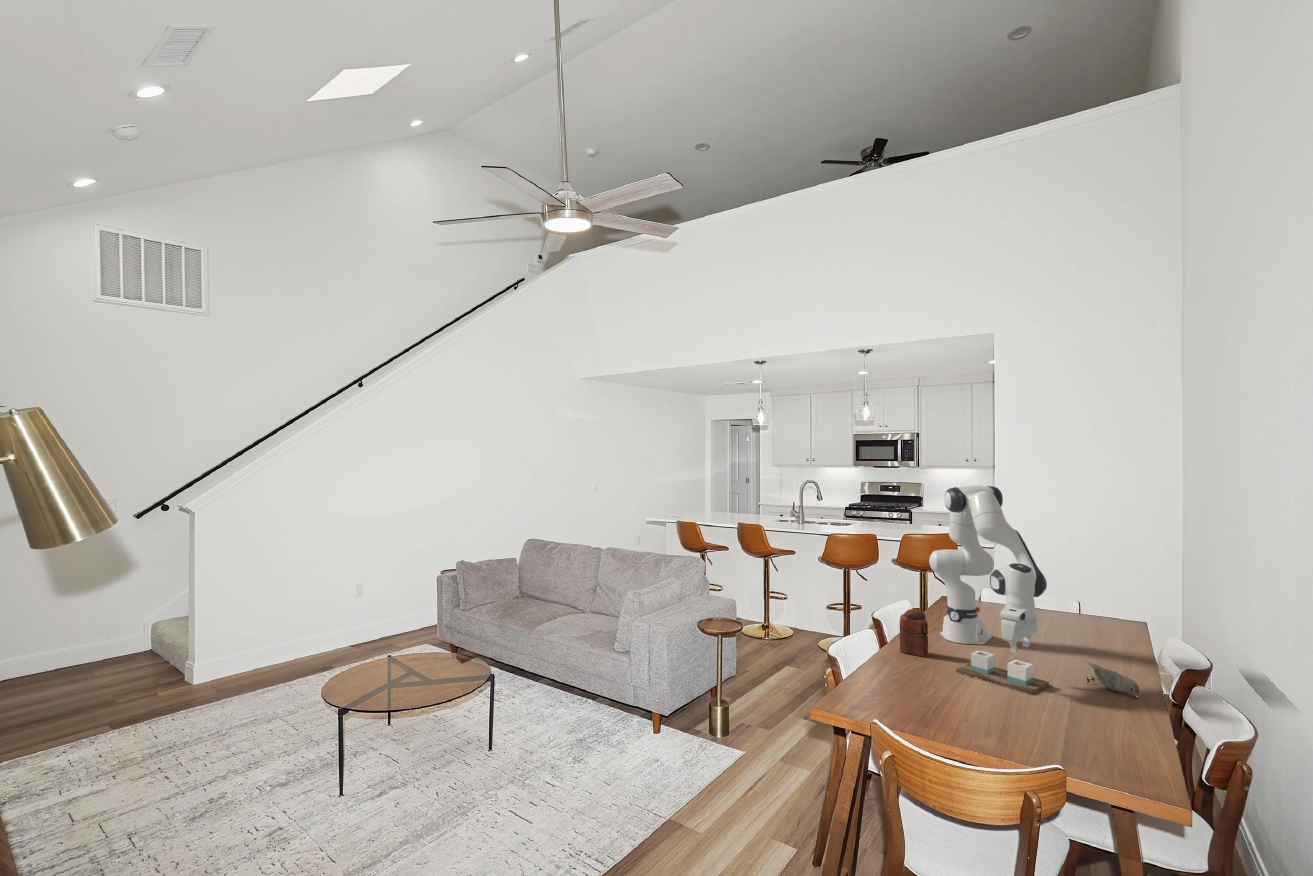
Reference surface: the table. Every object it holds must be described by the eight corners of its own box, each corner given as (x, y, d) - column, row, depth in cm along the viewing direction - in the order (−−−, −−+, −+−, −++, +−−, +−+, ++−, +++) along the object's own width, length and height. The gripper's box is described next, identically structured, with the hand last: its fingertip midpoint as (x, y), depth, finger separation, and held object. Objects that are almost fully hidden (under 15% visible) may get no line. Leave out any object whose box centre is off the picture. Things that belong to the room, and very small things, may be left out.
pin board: (974, 664, 240) (974, 647, 240) (1049, 685, 219) (1048, 666, 219) (956, 672, 232) (956, 654, 232) (1031, 694, 211) (1031, 675, 211)
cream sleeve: (1015, 676, 224) (1015, 659, 224) (1033, 681, 220) (1033, 664, 220) (1007, 680, 221) (1007, 663, 221) (1025, 685, 216) (1025, 668, 216)
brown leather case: (931, 654, 251) (931, 610, 251) (926, 658, 246) (926, 613, 247) (902, 648, 259) (902, 605, 259) (896, 652, 254) (896, 608, 254)
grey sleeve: (978, 666, 235) (978, 650, 235) (995, 670, 230) (995, 654, 230) (971, 669, 231) (970, 653, 231) (987, 674, 226) (987, 657, 226)
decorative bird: (1134, 700, 207) (1133, 678, 207) (1083, 684, 221) (1083, 663, 221) (1143, 698, 209) (1143, 675, 209) (1093, 681, 224) (1092, 660, 224)
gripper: (1023, 604, 229) (1023, 641, 229) (997, 613, 217) (997, 653, 217) (1042, 607, 224) (1042, 646, 224) (1016, 617, 212) (1016, 658, 212)
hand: (1020, 649), depth 221 cm, fingers open, 8 cm apart
